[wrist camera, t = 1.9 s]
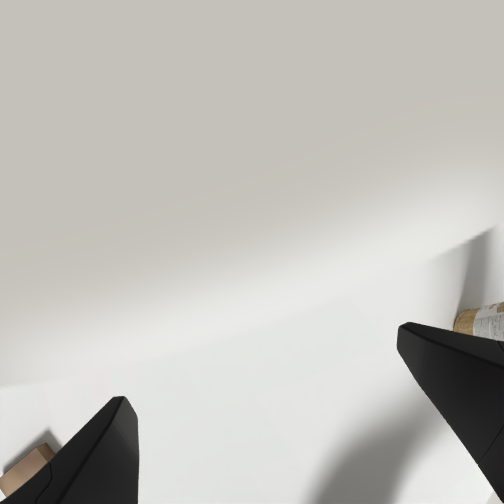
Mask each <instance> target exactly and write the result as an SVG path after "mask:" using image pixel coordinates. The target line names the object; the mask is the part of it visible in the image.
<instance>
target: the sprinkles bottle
mask: <svg viewBox="0 0 504 504" xmlns="http://www.w3.org/2000/svg"><path fill="white" fill-rule="evenodd" d="M454 332H459V333H464V334H469V335H474V336H479V337H484V338H489V339H495V340H496V341H497V340H500V341H504V302H501V303H497V304H493V305H488V306H484V307H482V308H479V309H473V310H465V311H463V312H462V313H460V314H459V316H458V317H457V319H456V321H455V325H454Z"/></svg>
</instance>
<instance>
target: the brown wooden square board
mask: <svg viewBox="0 0 504 504" xmlns="http://www.w3.org/2000/svg"><path fill="white" fill-rule="evenodd" d="M54 455H55V454H54V452H53V451H52V450H51V449H50V447H49V446H48V445H47V443H45V444H43V445H41V446H38V447H36V448H35V449H34V450H33V451H31V452H30V453H29V454H28V455H27V456H25V457H24V458H23V459H22V460H21V461H19V462H18V463H17V464H16V465H15V466H14V467H12V468H11V469H10V470H9V471H8V472H6V473H5V474H4V475H3V476H2V477H0V489H1V491H2V492H3V493H4V495H5V496H6V497H8V496H9V495H10V494H12V493H13V492H14V491H15V490H17V489H18V488H19V487H20V486H22V485H23V484H24V483H25V482H27V481H28V480H29V479H30V478H31V477H33V476H34V475H35V474H36V473H37V472H38V471H39V470H40V469H41V468H42V467H43V466H44V465H45V464H46V463H47V462H48V461H50V459H51V458H52V457H53V456H54Z"/></svg>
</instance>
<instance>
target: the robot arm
mask: <svg viewBox="0 0 504 504" xmlns="http://www.w3.org/2000/svg"><path fill="white" fill-rule="evenodd" d="M397 350H398V352H399V354H400V356H401V357H402V359H403V360H404V362H405V364H406V365H407V367H408V368H409V370H410V372H411V373H412V375H413V377H414V378H415V380H416V381H417V383H418V384H419V386H420V387H421V388H422V390H423V391H424V392H425V394H426V395H427V396H428V397H429V399H430V400H431V401H432V403H433V404H434V405H435V407H436V408H437V409H438V411H439V412H440V413H441V415H442V416H443V417H444V419H445V420H446V421H447V423H448V424H449V425H450V427H451V428H452V430H453V431H454V432H455V434H456V435H457V436H458V438H459V439H460V441H461V442H462V443H463V445H464V446H465V448H466V449H467V450H468V452H469V453H470V455H471V456H472V458H473V459H474V460H475V462H476V463H477V464H478V467H479V468H480V469H481V471H482V472H483V474H484V475H485V477H486V478H487V480H488V481H489V483H490V484H491V486H492V487H493V489H494V491H495V492H496V494H497V495H498V497H499V498H500V500H501V501H502V502H503V503H504V341H500V340H497V341H496V340H495V339H489V338H484V337H479V336H474V335H469V334H464V333H459V332H454V331H450V330H445V329H440V328H436V327H431V326H426V325H422V324H417V323H413V322H407V323H405V324H402V325H400V326H399V328H398V336H397ZM138 479H139V440H138V418H137V415H136V413H135V411H134V409H133V408H132V406H131V404H130V403H129V401H128V399H127V398H126V397H125V396H117V397H113V398H112V399H111V400H110V401H109V402H108V403H107V404H106V405H105V406H104V407H103V408H102V409H101V410H100V411H99V412H98V413H97V414H96V415H95V416H94V417H93V418H92V419H91V420H90V421H89V422H88V423H87V424H86V425H85V426H84V427H83V428H82V429H81V430H80V431H79V432H78V433H77V434H76V435H74V436H73V437H72V438H71V439H70V440H69V441H68V442H67V443H66V444H65V445H64V446H63V447H62V448H61V449H60V450H59V451H58V452H57V453H56V454H55V455H54V456H53V457H52V458H51V459H50V461H48V462H47V463H46V464H45V465H44V466H43V467H42V468H41V469H40V470H39V471H38V472H37V473H36V474H35V475H34V476H33V477H31V478H30V479H29V480H28V481H27V482H25V483H24V484H23V485H22V486H20V487H19V488H18V489H17V490H15V491H14V492H13V493H12V494H10V495H9V496H8V497H6V498H5V499H4V500H3V501H1V502H0V504H138Z"/></svg>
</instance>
